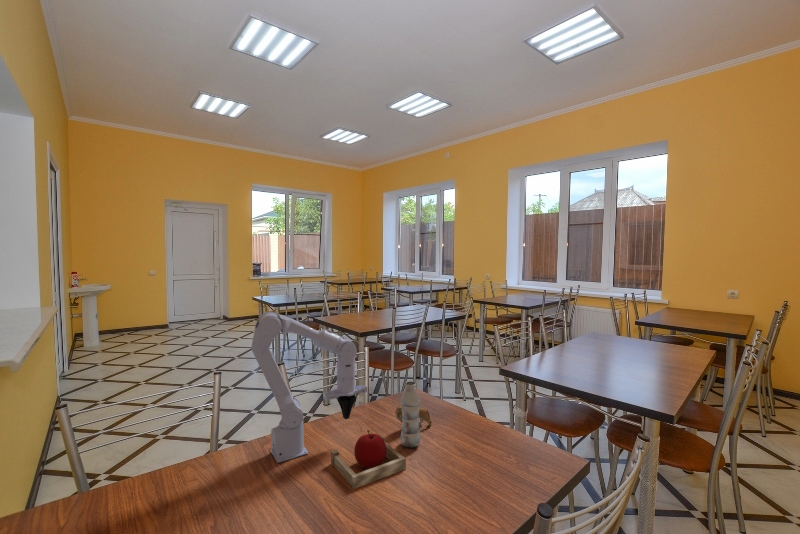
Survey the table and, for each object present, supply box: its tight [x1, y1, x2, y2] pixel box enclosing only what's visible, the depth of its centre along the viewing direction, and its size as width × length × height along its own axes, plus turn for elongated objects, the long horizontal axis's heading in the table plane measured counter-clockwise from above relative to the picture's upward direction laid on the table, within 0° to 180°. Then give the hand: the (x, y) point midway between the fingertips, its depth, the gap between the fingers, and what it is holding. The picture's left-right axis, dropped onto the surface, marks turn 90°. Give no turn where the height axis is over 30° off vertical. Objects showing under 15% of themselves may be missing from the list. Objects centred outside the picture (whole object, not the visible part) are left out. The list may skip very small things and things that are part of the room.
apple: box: [353, 430, 387, 470], centre depth 109 cm, size 9×9×10 cm
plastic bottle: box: [400, 380, 422, 448], centre depth 120 cm, size 6×7×20 cm
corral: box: [330, 434, 407, 490], centre depth 109 cm, size 17×14×4 cm
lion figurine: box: [395, 405, 433, 428], centre depth 132 cm, size 15×5×9 cm, turn 119°
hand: (346, 417), depth 123 cm, fingers closed
